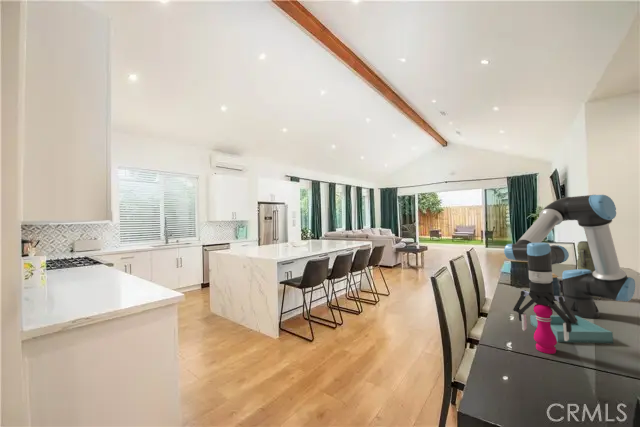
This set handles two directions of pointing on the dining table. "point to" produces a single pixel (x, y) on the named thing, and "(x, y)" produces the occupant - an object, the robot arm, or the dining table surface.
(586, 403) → the dining table surface
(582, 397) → the dining table surface
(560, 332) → the tray
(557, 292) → the canister
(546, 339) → the pepper mill
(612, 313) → the dining table surface
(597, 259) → the robot arm
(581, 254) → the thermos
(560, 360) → the dining table surface
